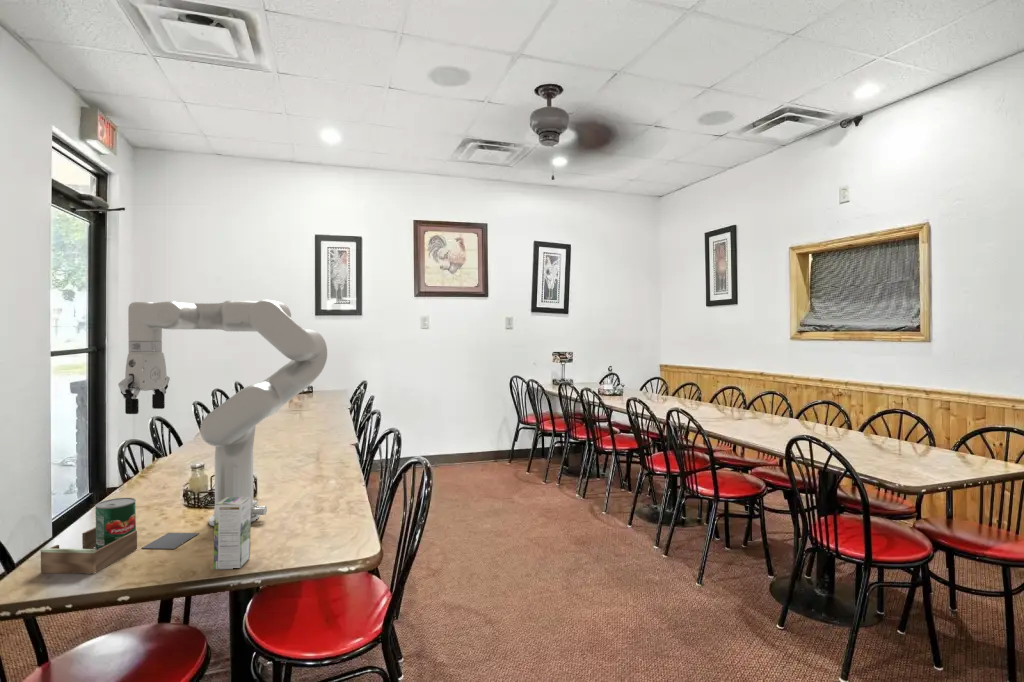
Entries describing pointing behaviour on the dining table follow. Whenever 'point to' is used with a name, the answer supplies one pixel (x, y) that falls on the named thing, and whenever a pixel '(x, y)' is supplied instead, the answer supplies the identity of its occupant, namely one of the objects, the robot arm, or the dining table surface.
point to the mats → (170, 541)
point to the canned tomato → (114, 520)
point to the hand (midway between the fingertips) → (145, 411)
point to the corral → (86, 554)
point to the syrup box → (232, 532)
